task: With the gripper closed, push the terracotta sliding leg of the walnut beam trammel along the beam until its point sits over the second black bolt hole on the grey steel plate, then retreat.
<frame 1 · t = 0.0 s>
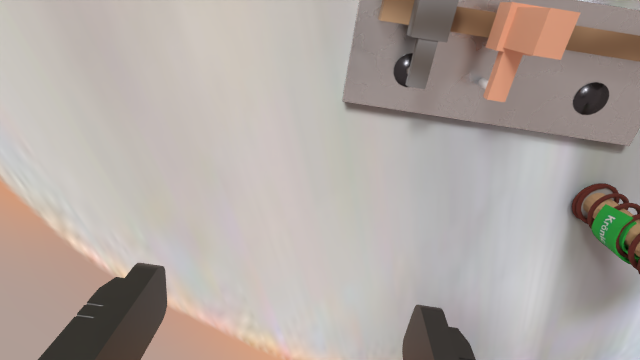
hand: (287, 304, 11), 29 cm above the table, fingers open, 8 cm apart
beam: (514, 29, 34), resting on hole plate
shock absorber: (588, 197, 41), on the table
hole plate: (503, 61, 35), on the table
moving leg: (514, 56, 29), point 6 cm above the table, slide at 3.0 cm
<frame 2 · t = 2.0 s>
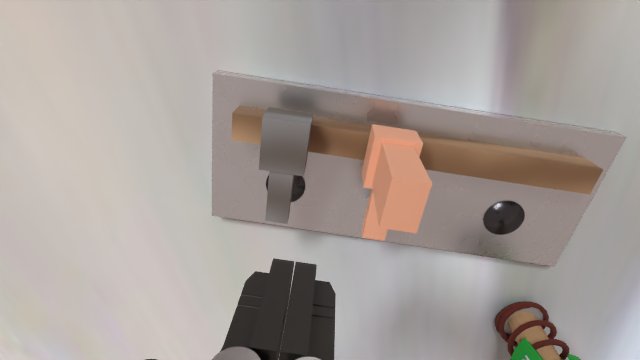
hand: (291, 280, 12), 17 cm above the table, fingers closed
beam: (408, 139, 28), resting on hole plate
shock absorber: (516, 311, 36), on the table
hole plate: (398, 173, 29), on the table
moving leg: (385, 196, 23), point 6 cm above the table, slide at 3.0 cm
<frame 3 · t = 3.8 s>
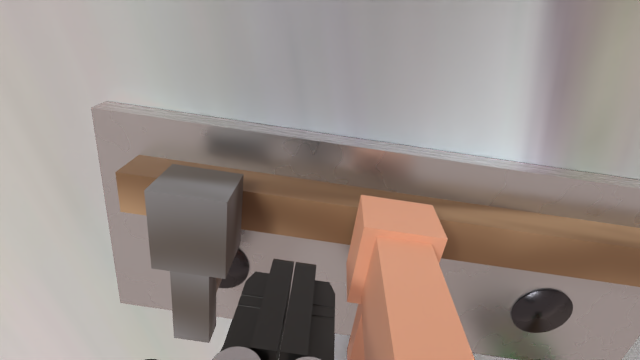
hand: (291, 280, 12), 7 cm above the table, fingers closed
beam: (399, 199, 19), resting on hole plate
hole plate: (386, 245, 20), on the table
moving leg: (384, 317, 14), point 6 cm above the table, slide at 4.0 cm, touching gripper
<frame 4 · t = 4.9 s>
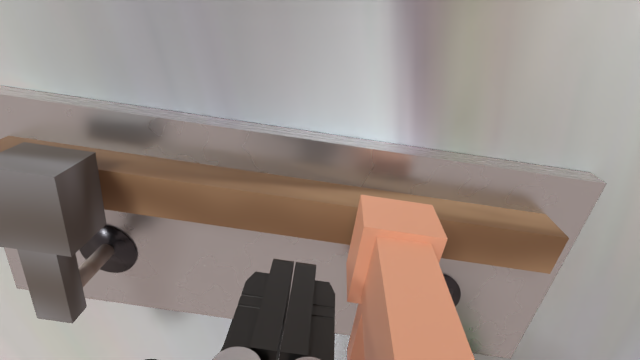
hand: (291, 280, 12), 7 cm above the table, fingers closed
beam: (281, 182, 19), resting on hole plate
hole plate: (276, 229, 20), on the table
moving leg: (384, 317, 14), point 6 cm above the table, slide at 10.2 cm, touching gripper
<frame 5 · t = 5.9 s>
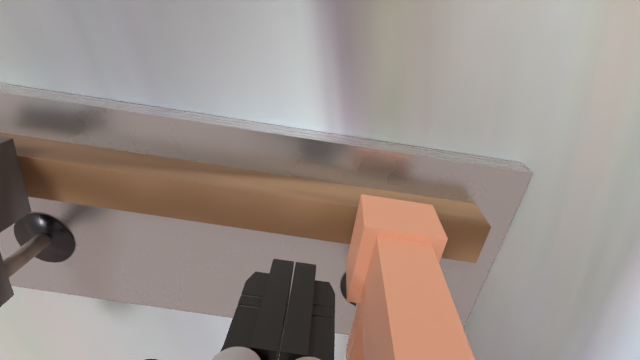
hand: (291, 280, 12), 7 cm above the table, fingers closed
beam: (215, 171, 19), resting on hole plate
hole plate: (215, 220, 20), on the table
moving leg: (383, 317, 14), point 6 cm above the table, slide at 13.6 cm, touching gripper
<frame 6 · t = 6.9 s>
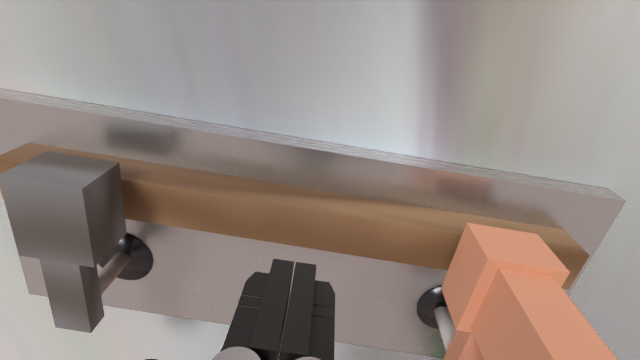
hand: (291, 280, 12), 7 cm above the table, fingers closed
beam: (299, 193, 19), resting on hole plate
hole plate: (293, 239, 20), on the table
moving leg: (494, 346, 14), point 6 cm above the table, slide at 13.7 cm
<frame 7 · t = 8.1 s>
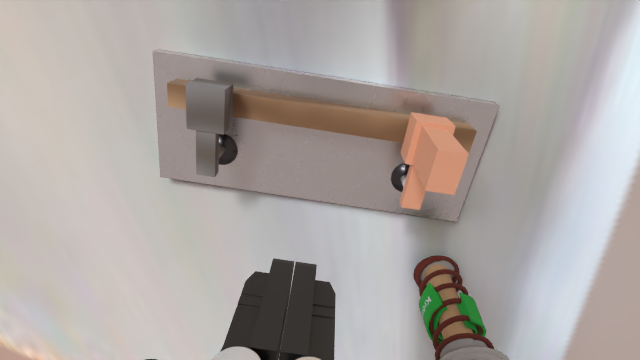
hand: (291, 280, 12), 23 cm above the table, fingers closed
beam: (322, 108, 33), resting on hole plate
shock absorber: (433, 266, 41), on the table
hole plate: (318, 139, 34), on the table
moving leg: (423, 170, 29), point 6 cm above the table, slide at 13.7 cm
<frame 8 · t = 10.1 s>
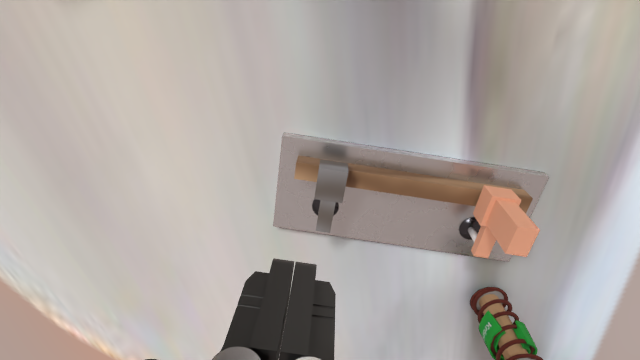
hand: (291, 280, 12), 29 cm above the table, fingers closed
beam: (407, 176, 42), resting on hole plate
shock absorber: (485, 294, 50), on the table
hole plate: (401, 198, 44), on the table
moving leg: (494, 231, 38), point 6 cm above the table, slide at 13.7 cm
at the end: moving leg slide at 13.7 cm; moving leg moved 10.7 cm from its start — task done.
